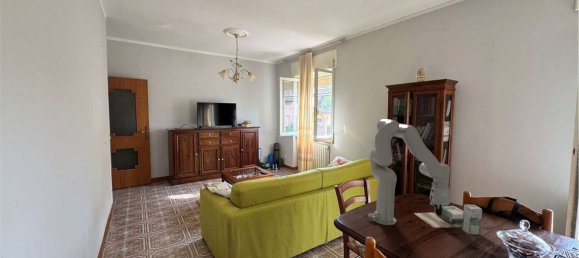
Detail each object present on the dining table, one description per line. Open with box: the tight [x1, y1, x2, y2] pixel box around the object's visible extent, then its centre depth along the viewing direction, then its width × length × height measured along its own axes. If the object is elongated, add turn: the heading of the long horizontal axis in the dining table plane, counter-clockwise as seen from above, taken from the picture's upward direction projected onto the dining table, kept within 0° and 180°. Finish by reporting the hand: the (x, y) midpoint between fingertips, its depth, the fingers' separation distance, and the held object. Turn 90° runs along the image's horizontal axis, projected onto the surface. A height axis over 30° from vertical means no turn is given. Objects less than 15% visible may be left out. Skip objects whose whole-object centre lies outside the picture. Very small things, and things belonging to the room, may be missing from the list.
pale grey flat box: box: [433, 205, 464, 224], centre depth 143 cm, size 13×14×6 cm
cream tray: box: [413, 212, 463, 229], centre depth 143 cm, size 26×18×1 cm
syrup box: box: [461, 204, 483, 236], centre depth 128 cm, size 6×6×14 cm
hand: (438, 214), depth 143 cm, fingers closed
